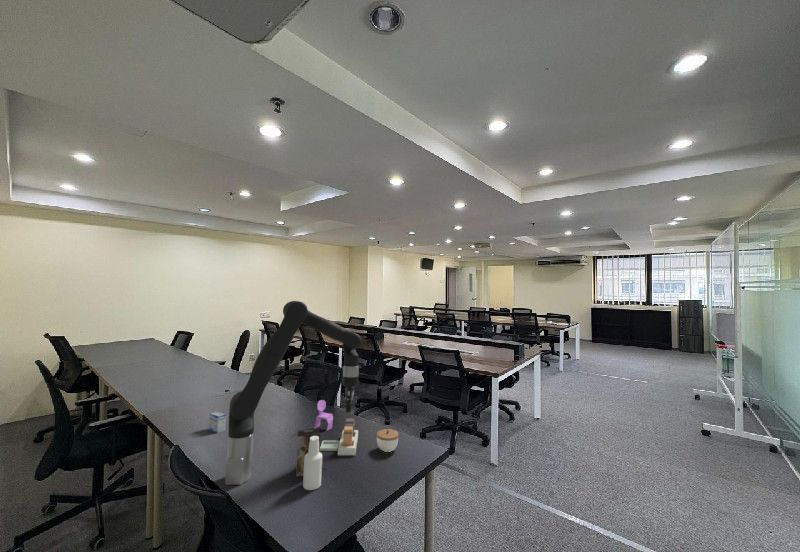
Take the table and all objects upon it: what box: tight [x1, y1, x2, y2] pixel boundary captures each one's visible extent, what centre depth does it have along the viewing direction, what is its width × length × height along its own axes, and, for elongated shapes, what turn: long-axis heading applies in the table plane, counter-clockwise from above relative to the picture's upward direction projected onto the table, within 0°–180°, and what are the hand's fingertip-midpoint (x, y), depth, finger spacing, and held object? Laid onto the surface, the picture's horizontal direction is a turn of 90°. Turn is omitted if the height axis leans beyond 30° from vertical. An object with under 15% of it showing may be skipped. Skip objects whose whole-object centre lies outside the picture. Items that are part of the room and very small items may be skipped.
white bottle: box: [302, 436, 323, 491], centre depth 124 cm, size 7×7×18 cm
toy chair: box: [313, 399, 334, 431], centre depth 177 cm, size 8×9×15 cm
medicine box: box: [208, 411, 227, 434], centre depth 170 cm, size 8×4×9 cm, turn 62°
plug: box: [343, 425, 353, 446], centre depth 151 cm, size 4×4×10 cm
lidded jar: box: [376, 428, 400, 453], centre depth 154 cm, size 11×11×9 cm
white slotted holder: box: [337, 418, 359, 457], centre depth 156 cm, size 20×8×11 cm, turn 4°
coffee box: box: [296, 428, 321, 477], centre depth 133 cm, size 9×6×16 cm
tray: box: [320, 439, 340, 452], centre depth 154 cm, size 8×8×2 cm
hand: (349, 409), depth 152 cm, fingers open, 8 cm apart
